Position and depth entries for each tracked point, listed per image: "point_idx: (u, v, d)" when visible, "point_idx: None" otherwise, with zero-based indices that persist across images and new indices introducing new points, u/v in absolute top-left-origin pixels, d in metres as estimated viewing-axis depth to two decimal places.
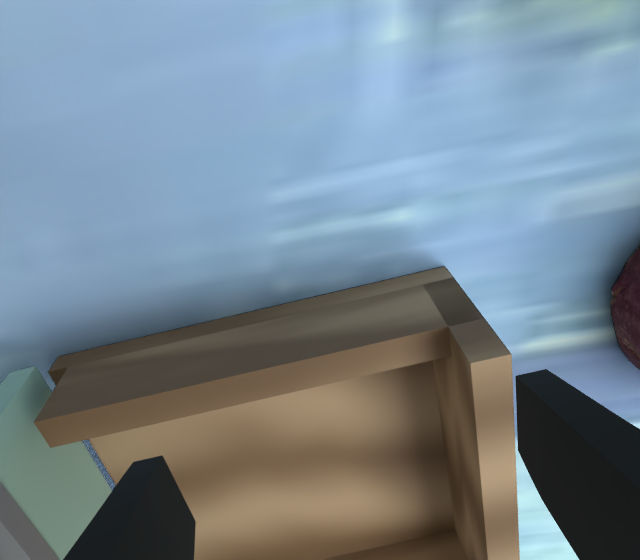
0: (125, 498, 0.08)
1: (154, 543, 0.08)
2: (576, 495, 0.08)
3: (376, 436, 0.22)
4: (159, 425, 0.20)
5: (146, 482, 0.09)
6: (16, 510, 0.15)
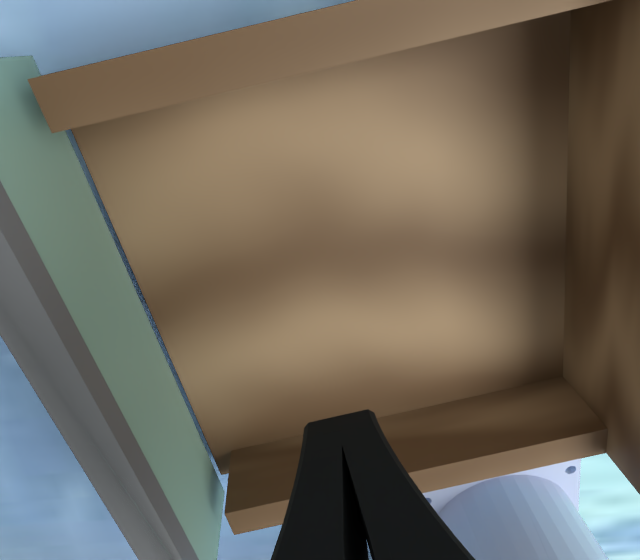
0: (325, 453, 0.08)
1: (352, 499, 0.08)
2: (368, 542, 0.08)
3: (481, 219, 0.16)
4: (198, 183, 0.15)
5: (339, 439, 0.08)
6: None
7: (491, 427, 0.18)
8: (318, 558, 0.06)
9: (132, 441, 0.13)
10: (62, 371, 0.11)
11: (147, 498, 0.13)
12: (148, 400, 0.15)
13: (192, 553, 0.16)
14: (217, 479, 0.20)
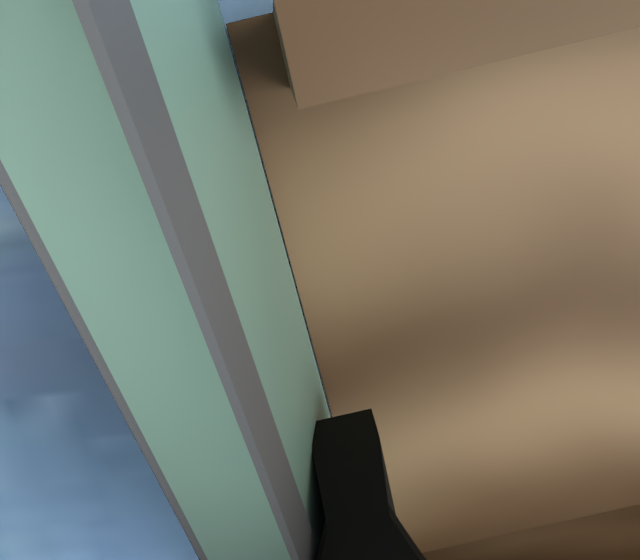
0: (363, 445, 0.08)
1: (389, 491, 0.08)
2: None
3: None
4: (431, 196, 0.10)
5: (376, 431, 0.08)
6: (203, 237, 0.05)
7: None
8: (368, 547, 0.06)
9: None
10: None
11: None
12: None
13: None
14: None
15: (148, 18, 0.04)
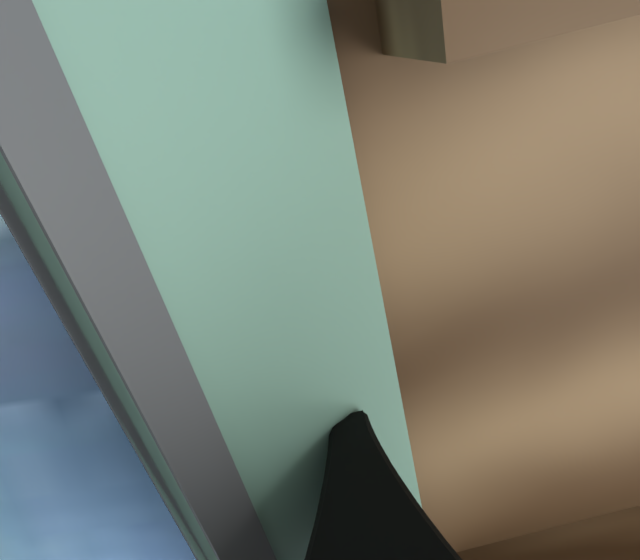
0: (354, 447, 0.08)
1: None
2: None
3: None
4: (520, 171, 0.09)
5: (367, 433, 0.08)
6: (116, 226, 0.05)
7: None
8: (355, 550, 0.06)
9: None
10: (186, 510, 0.07)
11: None
12: None
13: None
14: None
15: (102, 17, 0.05)
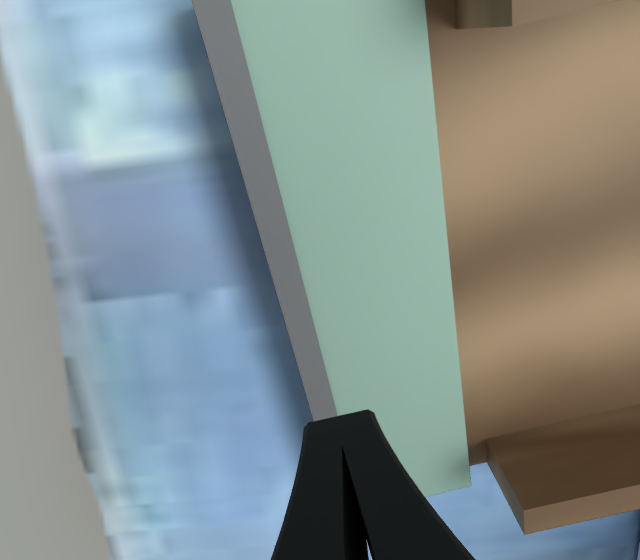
0: (325, 453, 0.08)
1: (352, 499, 0.08)
2: (368, 541, 0.08)
3: None
4: (548, 117, 0.13)
5: (339, 439, 0.08)
6: (254, 113, 0.11)
7: None
8: (318, 558, 0.06)
9: (316, 357, 0.15)
10: None
11: (307, 399, 0.15)
12: (378, 345, 0.15)
13: None
14: (465, 469, 0.18)
15: (264, 14, 0.11)
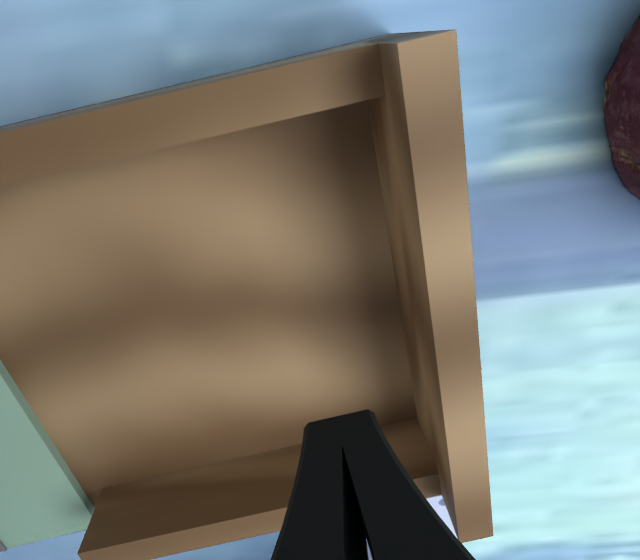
0: (325, 454, 0.08)
1: (352, 499, 0.08)
2: (368, 541, 0.08)
3: (312, 278, 0.17)
4: (32, 248, 0.16)
5: (339, 439, 0.08)
6: None
7: None
8: (318, 558, 0.06)
9: None
10: None
11: None
12: None
13: None
14: (86, 513, 0.21)
15: None
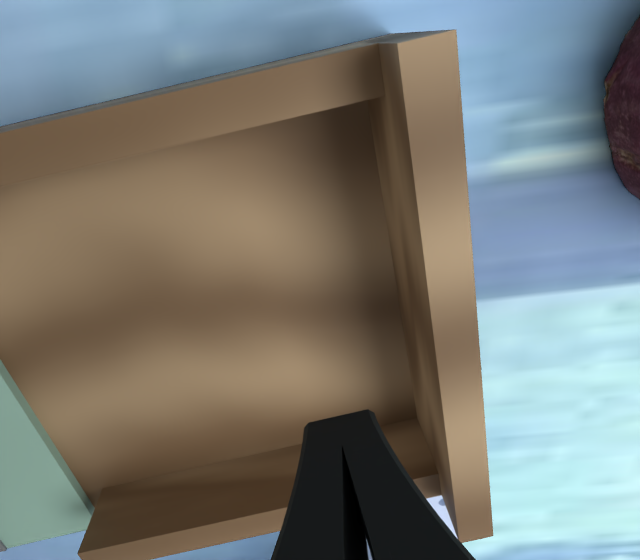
0: (325, 454, 0.08)
1: (352, 499, 0.08)
2: (368, 541, 0.08)
3: (312, 278, 0.17)
4: (32, 248, 0.16)
5: (339, 439, 0.08)
6: None
7: None
8: (318, 558, 0.06)
9: None
10: None
11: None
12: None
13: None
14: (86, 513, 0.21)
15: None
